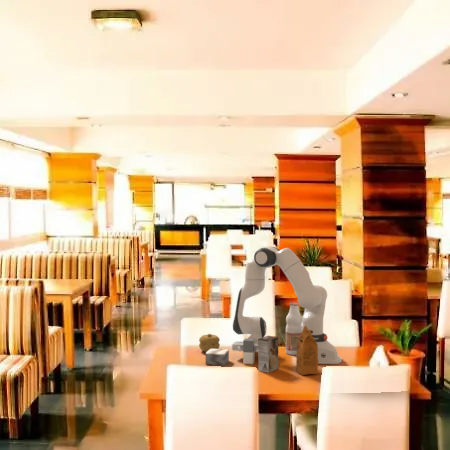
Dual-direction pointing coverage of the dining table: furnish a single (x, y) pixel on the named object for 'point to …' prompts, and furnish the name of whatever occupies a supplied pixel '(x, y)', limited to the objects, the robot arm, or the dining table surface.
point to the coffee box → (268, 353)
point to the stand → (217, 356)
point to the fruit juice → (293, 329)
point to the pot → (209, 342)
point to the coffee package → (307, 353)
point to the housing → (248, 351)
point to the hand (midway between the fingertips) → (248, 350)
